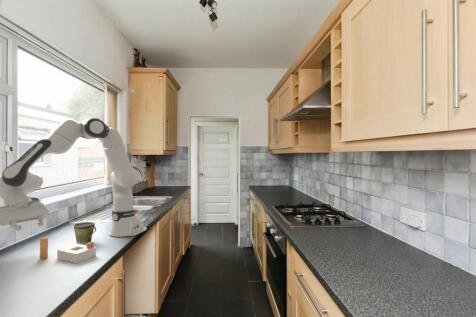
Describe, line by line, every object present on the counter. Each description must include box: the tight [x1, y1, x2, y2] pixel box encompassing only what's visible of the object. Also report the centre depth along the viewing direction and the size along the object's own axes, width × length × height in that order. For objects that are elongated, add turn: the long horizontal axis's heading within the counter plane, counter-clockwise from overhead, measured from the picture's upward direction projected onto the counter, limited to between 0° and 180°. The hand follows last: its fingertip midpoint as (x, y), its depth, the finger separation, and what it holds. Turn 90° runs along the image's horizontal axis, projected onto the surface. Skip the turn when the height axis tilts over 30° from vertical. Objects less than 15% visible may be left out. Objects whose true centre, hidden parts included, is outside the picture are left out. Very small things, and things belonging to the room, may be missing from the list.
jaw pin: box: [39, 236, 49, 260], centre depth 124 cm, size 3×3×9 cm
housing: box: [56, 241, 97, 264], centre depth 126 cm, size 10×12×6 cm
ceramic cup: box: [73, 221, 97, 245], centre depth 146 cm, size 13×10×10 cm
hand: (30, 227), depth 128 cm, fingers open, 8 cm apart
